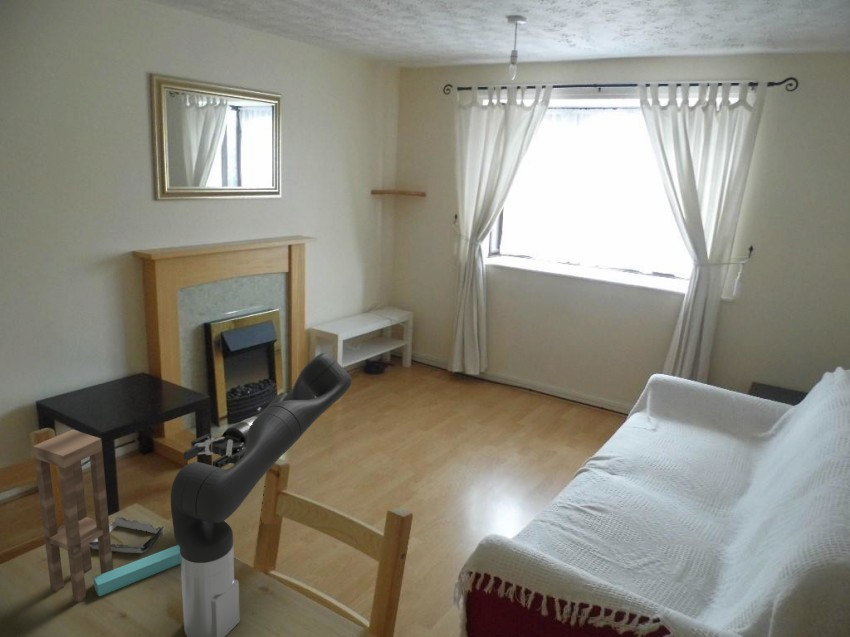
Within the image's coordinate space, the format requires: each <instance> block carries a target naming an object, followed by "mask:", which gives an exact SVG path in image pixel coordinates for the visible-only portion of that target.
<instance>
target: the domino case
mask: <svg viewBox="0 0 850 637" xmlns="http://www.w3.org/2000/svg"><path fill="white" fill-rule="evenodd" d="M177 565H181V560H180V547H179V545H178V544H177V545H174V546H171V547H169V548H165V549H164V550H161V551H159V552H156V553H153V554H151V555H148V556H146V557H142V558H140V559H137V560H134V561H132V562H129V563H127V564H125V565H122V566H119V567H117V568H113V570H111V571H109V572H106V573H103V574H101V573H100V574H99V575H95V576H93V585H94V588H93V589H94V590H95V592H96V594H97V596H98V597H102V596H104V595H107V594H109V593H111V592H114V591H116V590H117V591H118V590H119V589H121V588H123V587H126V586H128V585H131V584H133V583H136V582H138V581H141V580H144V579H145V578H148V577H151V576H153V575H155V574H158V573H160V572H163V571H165V570H168V569H170V568H172V567H175V566H177Z"/></svg>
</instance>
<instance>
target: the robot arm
mask: <svg viewBox="0 0 850 637" xmlns="http://www.w3.org/2000/svg"><path fill="white" fill-rule="evenodd" d="M352 382H353V380H352V377H351V375H350V374H349V373H348V371H347V370H345V369H344V367H342V366H341V365H340V364H339V362H338V361H337V360H336V359H335V358H334V357H333V356H332V355H330V354H329V353H327V352H322V353H320V354H318V355H316V356H315V357H314V358H313V359H311V360H310V361H309V362H308V363H307V364H306V365H305V366H304V367H303V369H302V370H301V371H300V372H299V375H298V377H297V378H296V380H295V382H294V385H293V386H292V389H291V390H289V392H287V394H281V395H278V396H277V397H275V398H274V399H273V400H271V402H270V403H269V404H268V405H267V406H266V408H264V410H262V411H260V413H257V414H255V415H253V416H251V417H249V418H246V419H244V420H241V421H240V422H238V423H236V424H234V425H232V426H230V427H228V428H226V429H225V431H224V432H223V433H222V435H221V436H218V437H215V438H214V437H213V436H212V434H211V433H207V434H204V435H202V436H199V437H198V438H196V439H194V440H191V441H190V444H191V445H190V446H191V447H190V448H188V449H187V450H185V451H184V453H183V460H184V461H186V462H187V461H190V460H192V459H194V458H195V457H197V456H199V455H204V454H205V455H206V456H211V455H218V456H220V457H218V458H216V459H214V460H213V461H212V464H208V463H204V462H199V461H194V462H189V463H187V464H186V465H184V466H183V467H182V468H181V469H180V470H179V471H178V473H177V474H176V476H175V477H174V480H173V482H172V485H171V490H170V510H171V511H170V512H171V519H172V521H171V522H172V527H173V534H174V539H175V541H176V542H175V543H177V545H179V547H180V560H181V563H180V572H181V573H180V576H181V577H180V578H181V592H182V596H181V597H182V611H183V612H182V614H183V630H184V634H185V635H186V637H226V636H227V635H228V634H229V633H230V632H231V631H232V630H233V629H234V628H235V627H236V626H237V625H239V623H240V621H241V620H240V618H241V616H240V588H239V586H240V584H239V582H240V581H239V580H238V579H236V578H235V570H234V569H235V563H234V562H235V561H234V557H235V556H234V555H235V554H234V553H235V552H234V534H233V529H232V527H231V525H230V524H229V523H227V521H226V520H228V518H230V517H231V516H232V515H233V514H234V513H235V512H236V511H237V510H238V508H239V507H240V506H241V504H243V502H244V501H245V499H247V497H248V495H250V493H251V492H252V491H253V489H254V488H255V487H256V486H257V484H259V481H260V480H262V478H263V477H264V476H265V474H266V473H267V472H268V471H269V470H270V469H271V468H272V467H273V466H274V464H276V462H277V461H279V459H280V458H281V457H283V455H284V454H285V453H286V452H287V451H289V449H290V448H291V447H293V445H294V444H295V443H297V441H299V439H300V438H301V437H302V436H303V434H304V433H305V432H306V431H307V430H308V429H309V428H310V427H311V425H312V424H313V423H314V422H315V421H317V419H318V418H320V416H321V415H322V414H324V413H325V412H326V411H327V410H328V409H329V408H330V407H331V406H333V405H334V404H335V403H336V402H338V401H339V399H341V398H342V396H344V395H345V394H346V392H347V391H348V390H349V389H350V387H351V385H352ZM211 444H212V445H211ZM210 446H211V450H210ZM201 449H202V450H201ZM232 464H233V465H232ZM230 465H232V466H231V467H229V468H226V469H225V468H224V467H225V466H230Z"/></svg>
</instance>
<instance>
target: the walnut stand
mask: <svg viewBox="0 0 850 637" xmlns="http://www.w3.org/2000/svg"><path fill="white" fill-rule="evenodd" d="M33 453H34V462H35V470H36V479H37V488H38V494H39V503H40V511H41V518H42V527H43V535H44V544H45V551H46V559H47V568H48V576H49V583H50V584H49V585H50V590H51V591H52V592H53V591H54V592H55V593H57V592H59V591H60V590H62V589H64V588H65V585H64V584H65V583H64V576H63V567H62V558H61V552H60V548H61V549H64V550H66V551H67V555H68V556H67V557H68V564H69V565H68V566H69V574H70V575H69V576H70V582H71V589H72V590H71V593H72V600H73V601H74V602H76V603H81V602H82V601H84V600H85V599H87V589H86V582H85V573H88V572H89V571H90V570H92V569H93V565H92V554H91V546H90V544H89V543H90V542H92V541H94V540H95V539H97V538H98V547H99V549H98V557H99V567H100V568H99V569H100V575H101V574H103V573H106V572H109V571H111V570H114V565H113V563H114V562H113V554H112V553H113V551H111V544H112V542H111V541H112V540H111V532H110V529H109V524H110V521H109V520H110V519H109V510H108V499H107V489H106V488H107V487H106V486H107V485H106V477H105V466H104V463H105V462H104V453H103V443H102V438H100V437H98V436H93V435H91V434H89V433H85V432H82V431H78V430H75V429H71V430H68V431H66V432H63V433H61V434H58V435H56V436H54V437H52V438H49V439H47V440H43V441H42V442H40V443H37V444H35V445H33ZM87 458H89V463H90V464H89V465H90V474H91V483H92V484H91V485H92V494H93V503H94V506H93V507H94V514H95V515H94V516H95V519H94V518H91V517H89V516H88V515H87V506H86V504H87V503H86V494H85V486H84V478H83V477H84V475H83V468H82V466H83V465H82V461H83V460H85V459H87ZM51 465H54V466H57V467H58V475H59V485H60V494H61V503H62V504H61V505H62V510H63V520H64V523H63V524H62V525H59V527H58V524H57V516H56V508H55V499H54V490H53V483H52V482H53V481H52V474H51Z"/></svg>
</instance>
